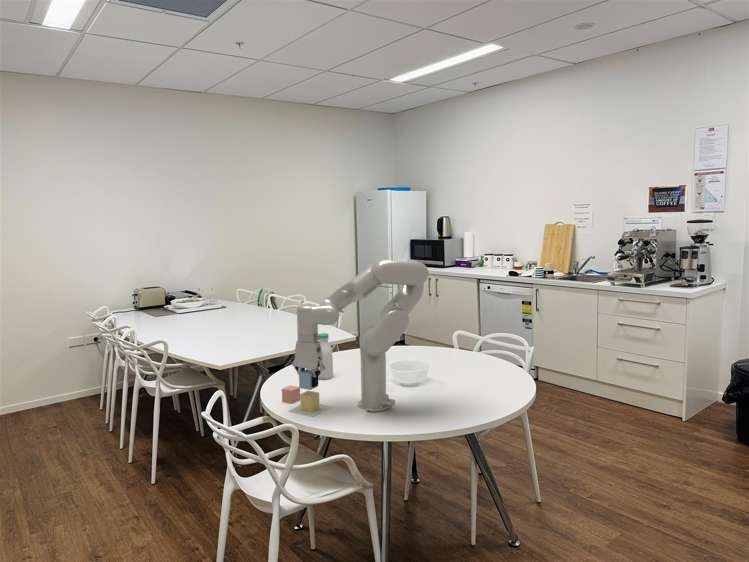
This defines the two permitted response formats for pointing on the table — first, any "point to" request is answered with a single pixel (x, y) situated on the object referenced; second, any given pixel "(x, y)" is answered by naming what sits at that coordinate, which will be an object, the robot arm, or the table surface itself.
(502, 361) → the table surface
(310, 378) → the brick
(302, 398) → the brick base
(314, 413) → the build plate
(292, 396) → the brick
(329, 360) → the milk bottle
